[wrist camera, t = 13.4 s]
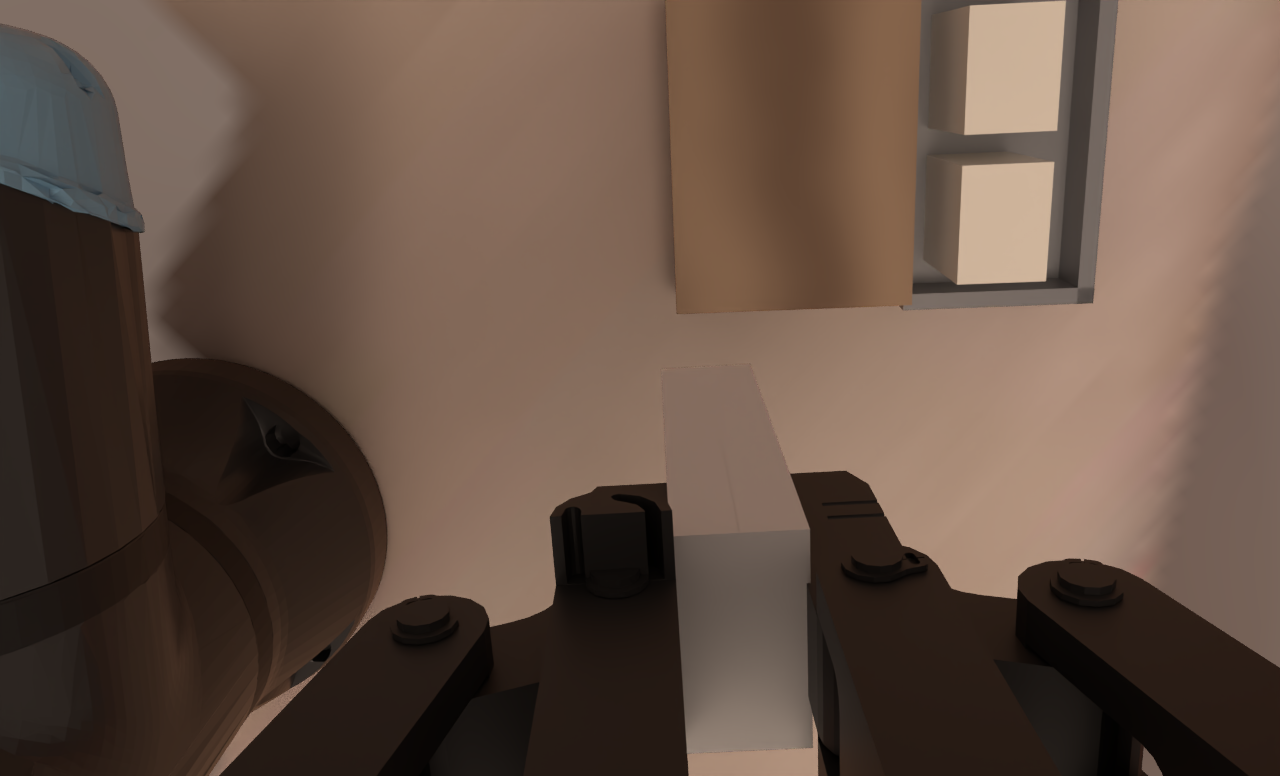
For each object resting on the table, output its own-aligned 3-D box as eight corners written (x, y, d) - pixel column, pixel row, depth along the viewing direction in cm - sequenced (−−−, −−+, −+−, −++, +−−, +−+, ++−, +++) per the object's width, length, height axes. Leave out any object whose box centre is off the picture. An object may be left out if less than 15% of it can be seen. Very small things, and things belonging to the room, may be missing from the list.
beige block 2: (956, 284, 35) (1045, 281, 35) (962, 165, 34) (1054, 161, 34) (923, 259, 40) (1001, 256, 40) (926, 154, 39) (1007, 151, 38)
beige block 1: (964, 134, 34) (1057, 130, 33) (969, 5, 32) (1065, 0, 32) (928, 128, 38) (1009, 124, 38) (931, 15, 37) (1015, 10, 37)
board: (676, 292, 41) (676, 314, 37) (665, 0, 38) (664, -9, 34) (889, 283, 41) (911, 305, 37) (896, -12, 38) (922, -22, 34)
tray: (889, 296, 41) (903, 310, 38) (897, -26, 37) (913, -34, 35) (1067, 289, 40) (1093, 303, 38) (1092, -36, 37) (1121, -44, 35)
